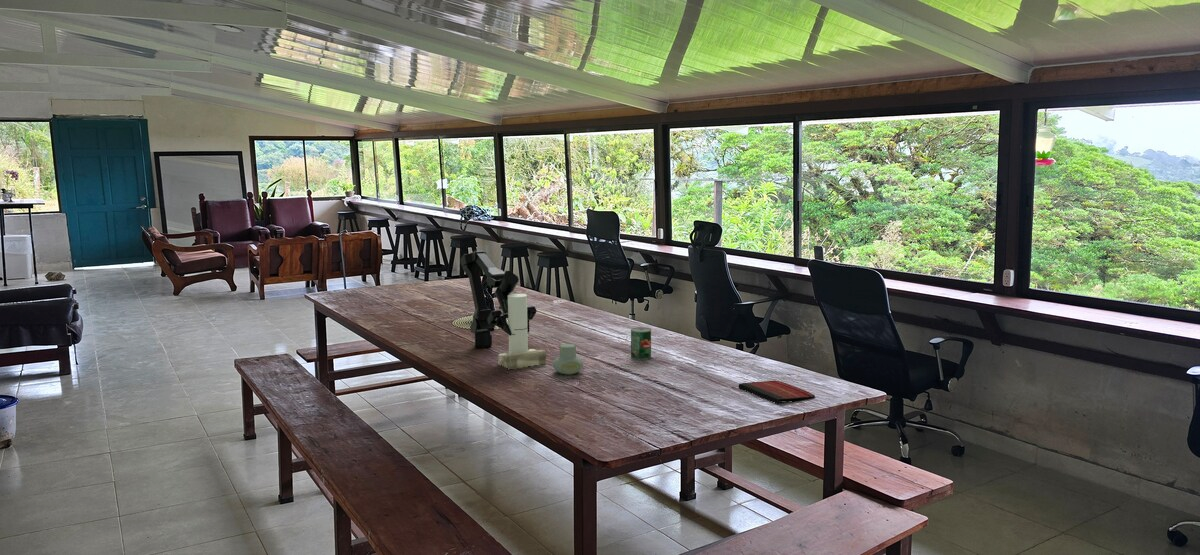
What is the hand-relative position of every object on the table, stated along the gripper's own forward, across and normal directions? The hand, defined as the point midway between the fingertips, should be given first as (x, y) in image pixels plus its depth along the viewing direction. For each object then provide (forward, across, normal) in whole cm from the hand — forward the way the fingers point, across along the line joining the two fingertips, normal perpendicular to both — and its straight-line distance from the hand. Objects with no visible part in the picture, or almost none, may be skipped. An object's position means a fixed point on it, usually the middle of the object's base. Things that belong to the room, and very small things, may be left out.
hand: (519, 333), depth 307 cm
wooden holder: (+9, 0, +7) cm, 12 cm away
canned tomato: (+21, +43, -5) cm, 48 cm away
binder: (+66, +52, -50) cm, 98 cm away
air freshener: (+23, +8, -7) cm, 26 cm away
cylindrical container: (+7, 0, +9) cm, 11 cm away
